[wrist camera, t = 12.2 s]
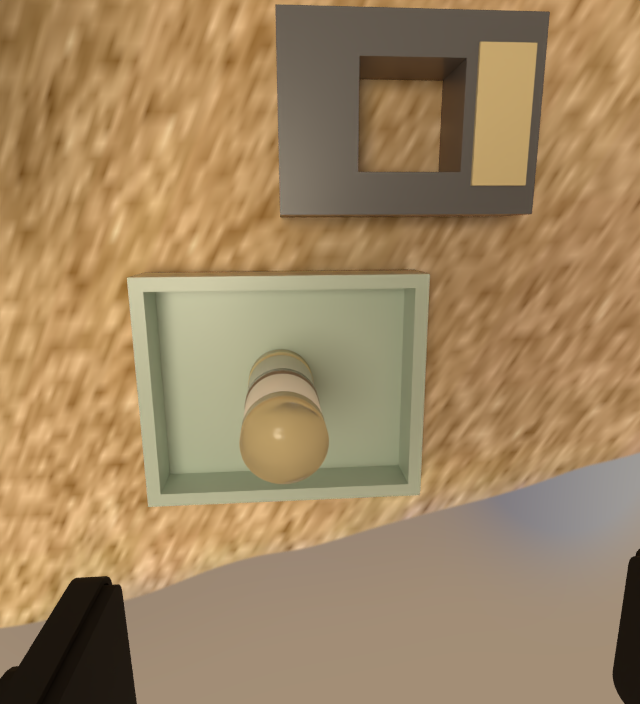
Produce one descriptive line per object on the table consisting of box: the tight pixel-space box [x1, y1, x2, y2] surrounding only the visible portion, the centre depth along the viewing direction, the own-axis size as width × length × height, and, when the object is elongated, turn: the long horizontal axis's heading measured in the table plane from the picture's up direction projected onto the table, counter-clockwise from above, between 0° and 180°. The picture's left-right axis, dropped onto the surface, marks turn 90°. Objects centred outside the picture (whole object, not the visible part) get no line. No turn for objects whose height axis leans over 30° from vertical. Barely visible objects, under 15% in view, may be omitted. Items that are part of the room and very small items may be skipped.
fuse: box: [239, 349, 329, 484], centre depth 28 cm, size 4×4×10 cm
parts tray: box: [127, 270, 430, 507], centre depth 32 cm, size 17×14×4 cm
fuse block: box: [276, 5, 550, 217], centre depth 28 cm, size 14×10×4 cm
